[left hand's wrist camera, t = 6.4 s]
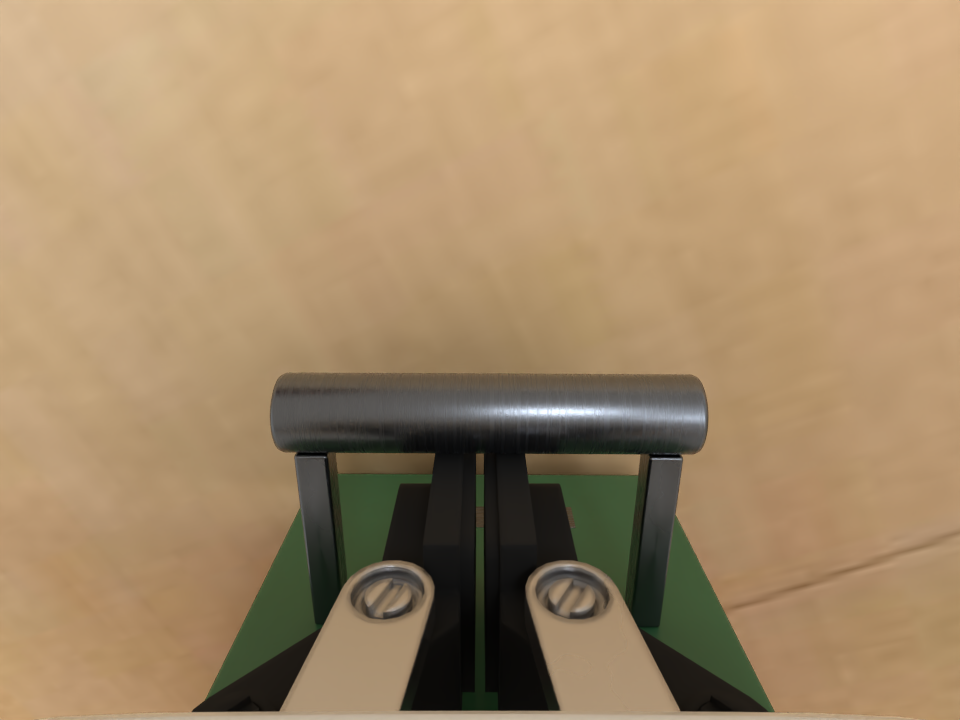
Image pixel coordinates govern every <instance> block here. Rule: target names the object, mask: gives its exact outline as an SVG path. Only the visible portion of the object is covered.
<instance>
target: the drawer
mask: <svg viewBox="0 0 960 720" xmlns="http://www.w3.org/2000/svg"><path fill="white" fill-rule="evenodd" d="M270 426H271V432H272V437H273V441H274V443H275V445H276V447H277V448H278V449H279V450H280V451H283V452H297V453H296V454H295V457H294V459H295V467H296V475H297V483H298V491H299V499H300V509H299V511H298V513H297V515H296V517H295V519H294V521H293V523H292V525H291V527H290V529H289V531H288V533H287V536H286V538H285V540H284V542H283V544H282V546H281V548H280V550H279V552H278V554H277V556H276V558H275V560H274V562H273V564H272V566H271V568H270V570H269V572H268V574H267V576H266V578H265V580H264V582H263V584H262V586H261V588H260V590H259V592H258V594H257V596H256V598H255V600H254V602H253V604H252V606H251V608H250V610H249V612H248V614H247V616H246V618H245V620H244V622H243V625H242V627H241V629H240V631H239V633H238V635H237V637H236V639H235V641H234V643H233V645H232V647H231V649H230V651H229V653H228V655H227V657H226V659H225V661H224V663H223V665H222V667H221V669H220V671H219V673H218V675H217V677H216V679H215V681H214V683H213V685H212V687H211V689H210V691H209V693H208V695H207V697H206V699H208V698H209V697H210V696H212V695H214V694H215V693H217V692H219V691H220V690H222V689H223V688H225V687H227V686H228V685H230V684H231V683H233V682H235V681H236V680H238V679H239V678H241V677H243V676H244V675H246V674H247V673H249V672H251V671H252V670H254V669H255V668H257V667H259V666H260V665H262V664H263V663H265V662H267V661H268V660H270V659H272V658H273V657H275V656H276V655H278V654H280V653H281V652H283V651H284V650H286V649H288V648H289V647H291V646H292V645H294V644H296V643H297V642H299V641H300V640H302V639H304V638H305V637H307V636H308V635H310V634H312V633H313V632H315V631H316V630H318V629H320V628H321V627H323V625H324V623H325V621H326V619H327V617H328V615H329V613H330V611H331V609H332V607H333V605H334V604H335V602H336V600H337V598H338V596H339V594H340V592H341V590H342V588H343V586H344V585H345V583H346V582H347V581H348V579H349V578H350V577H351V576H352V575H354V574H355V573H356V572H357V571H359V570H360V569H362V568H364V567H366V566H369V565H371V564H373V563H378V562H382V559H383V555H384V550H385V546H386V541H387V537H388V533H389V528H390V524H391V519H392V515H393V511H394V506H395V502H396V498H397V493H398V489H399V486H400V484H401V483H431V481H432V474H338V473H337V463H336V453H503V454H641V456H640V465H639V474H638V475H528V481H529V483H559V484H560V486H561V489H562V493H563V498H564V502H565V506H566V511H567V515H568V520H569V524H570V528H571V533H572V537H573V541H574V546H575V550H576V555H577V559H578V562H582V563H587V564H589V565H591V566H594V567H596V568H598V569H600V570H601V571H603V572H604V573H605V574H606V575H608V576H609V577H610V578H611V579H612V581H613V582H614V583H615V585H616V586H617V588H618V590H619V592H620V594H621V596H622V598H623V600H624V602H625V604H626V605H627V607H628V609H629V611H630V613H631V615H632V617H633V619H634V621H635V623H636V625H637V627H639V628H640V629H642V630H644V631H645V632H647V633H648V634H650V635H652V636H653V637H655V638H656V639H658V640H660V641H661V642H663V643H664V644H666V645H668V646H669V647H671V648H672V649H674V650H676V651H677V652H679V653H680V654H682V655H684V656H685V657H687V658H688V659H690V660H692V661H693V662H695V663H697V664H698V665H700V666H701V667H703V668H705V669H706V670H708V671H709V672H711V673H713V674H714V675H716V676H717V677H719V678H721V679H722V680H724V681H725V682H727V683H729V684H730V685H732V686H733V687H735V688H737V689H738V690H740V691H741V692H743V693H745V694H746V695H748V696H750V697H751V698H752V699H754V700H755V701H756V702H758V703H759V704H760V705H761V706H763V707H764V708H765V709H766V710H767V711H768V712H774V710H773V708H772V706H771V704H770V702H769V700H768V698H767V696H766V694H765V692H764V690H763V688H762V686H761V684H760V682H759V680H758V678H757V676H756V674H755V672H754V670H753V668H752V666H751V664H750V662H749V660H748V658H747V656H746V654H745V652H744V650H743V648H742V646H741V644H740V642H739V640H738V638H737V636H736V634H735V632H734V630H733V628H732V626H731V624H730V622H729V620H728V618H727V616H726V614H725V612H724V610H723V608H722V606H721V604H720V602H719V600H718V598H717V596H716V594H715V592H714V590H713V588H712V586H711V584H710V582H709V580H708V578H707V576H706V574H705V572H704V570H703V568H702V566H701V564H700V562H699V560H698V558H697V557H696V555H695V553H694V551H693V549H692V547H691V545H690V543H689V541H688V539H687V537H686V535H685V533H684V531H683V529H682V527H681V525H680V523H679V521H678V519H677V517H676V515H675V513H676V506H677V499H678V491H679V484H680V477H681V470H682V463H683V457H682V456H681V454H691V455H692V454H695V453H698V452H699V451H700V450H701V449H702V447H703V445H704V443H705V440H706V436H707V430H708V404H707V399H706V394H705V391H704V388H703V385H702V383H701V381H700V380H699V379H698V378H697V377H695V376H693V375H661V374H440V373H286V374H283V375H281V376H280V377H279V378H278V380H277V382H276V384H275V387H274V390H273V394H272V399H271V406H270ZM206 699H205V700H206ZM462 711H498V695H497V692H485V625H484V475H476V624H475V692H463V695H462Z"/></svg>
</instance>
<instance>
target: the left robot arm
mask: <svg viewBox="0 0 960 720" xmlns="http://www.w3.org/2000/svg"><path fill="white" fill-rule="evenodd" d="M475 624H476V453H435V460H434V467H433V474H432V481H431V483H401V484H400V486H399V489H398V493H397V498H396V502H395V506H394V511H393V515H392V519H391V524H390V528H389V533H388V537H387V541H386V546H385V550H384V555H383V559H382V562H378V563H373V564H371V565H369V566H366V567H364V568H362V569H360V570H359V571H357V572H356V573H355V574H354V575H352V576H351V577H350V578H349V579H348V581H347V582H346V583H345V585H344V586H343V588H342V590H341V592H340V594H339V596H338V598H337V600H336V602H335V604H334V605H333V607H332V609H331V611H330V613H329V615H328V617H327V619H326V621H325V623H324V625H323V627H321V628H320V629H318V630H316V631H315V632H313V633H312V634H310V635H308V636H307V637H305V638H304V639H302V640H300V641H299V642H297V643H296V644H294V645H292V646H291V647H289V648H288V649H286V650H284V651H283V652H281V653H280V654H278V655H276V656H275V657H273V658H272V659H270V660H268V661H267V662H265V663H263V664H262V665H260V666H259V667H257V668H255V669H254V670H252V671H251V672H249V673H247V674H246V675H244V676H243V677H241V678H239V679H238V680H236V681H235V682H233V683H231V684H230V685H228V686H227V687H225V688H223V689H222V690H220V691H219V692H217V693H215V694H214V695H212V696H210V697H209V698H208V699H206V700H205V701H204V702H202V703H201V704H200V705H199V706H197V707H196V708H195V709H194V710H193V711H192V712H160V713H130V714H107V715H84V716H62V717H53V718H45V719H36V720H924V719H915V718H907V717H898V716H875V715H852V714H830V713H789V712H787V713H777V712H768V711H767V710H766V709H765V708H764V707H763V706H761V705H760V704H759V703H758V702H756V701H755V700H754V699H752V698H751V697H750V696H748V695H746V694H745V693H743V692H741V691H740V690H738V689H737V688H735V687H733V686H732V685H730V684H729V683H727V682H725V681H724V680H722V679H721V678H719V677H717V676H716V675H714V674H713V673H711V672H709V671H708V670H706V669H705V668H703V667H701V666H700V665H698V664H697V663H695V662H693V661H692V660H690V659H688V658H687V657H685V656H684V655H682V654H680V653H679V652H677V651H676V650H674V649H672V648H671V647H669V646H668V645H666V644H664V643H663V642H661V641H660V640H658V639H656V638H655V637H653V636H652V635H650V634H648V633H647V632H645V631H644V630H642V629H640V628H639V627H637V625H636V623H635V621H634V619H633V617H632V615H631V613H630V611H629V609H628V607H627V605H626V604H625V602H624V600H623V598H622V596H621V594H620V592H619V590H618V588H617V586H616V585H615V583H614V582H613V581H612V579H611V578H610V577H609V576H608V575H606V574H605V573H604V572H603V571H601V570H600V569H598V568H596V567H594V566H591V565H589V564H587V563H582V562H578V559H577V555H576V550H575V546H574V541H573V537H572V533H571V528H570V524H569V520H568V515H567V511H566V506H565V502H564V498H563V493H562V489H561V486H560V484H559V483H529V481H528V474H527V467H526V460H525V454H503V453H484V625H485V692H497V695H498V711H462V695H463V692H475Z"/></svg>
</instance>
